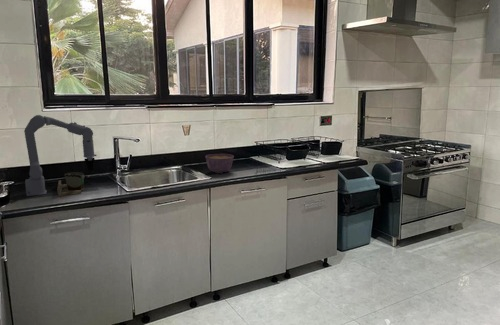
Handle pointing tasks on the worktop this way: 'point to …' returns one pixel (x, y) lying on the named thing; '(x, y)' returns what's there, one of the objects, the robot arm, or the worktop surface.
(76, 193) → the tan piece
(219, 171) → the bowl of food
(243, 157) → the worktop surface
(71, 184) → the food container
